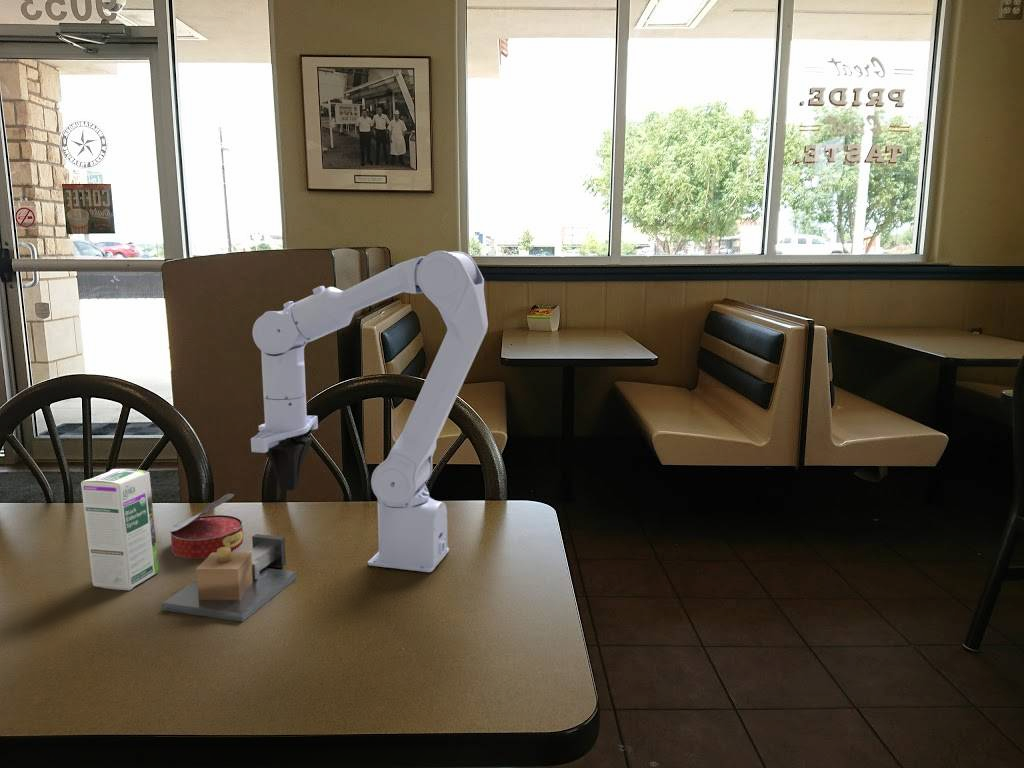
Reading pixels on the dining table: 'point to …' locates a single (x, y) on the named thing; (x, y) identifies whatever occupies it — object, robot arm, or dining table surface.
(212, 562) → the block
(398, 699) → the dining table surface
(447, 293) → the robot arm
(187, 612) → the grey square baseplate
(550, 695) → the dining table surface
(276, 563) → the square end dumbbell
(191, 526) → the canned food
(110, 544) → the syrup box
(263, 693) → the dining table surface
